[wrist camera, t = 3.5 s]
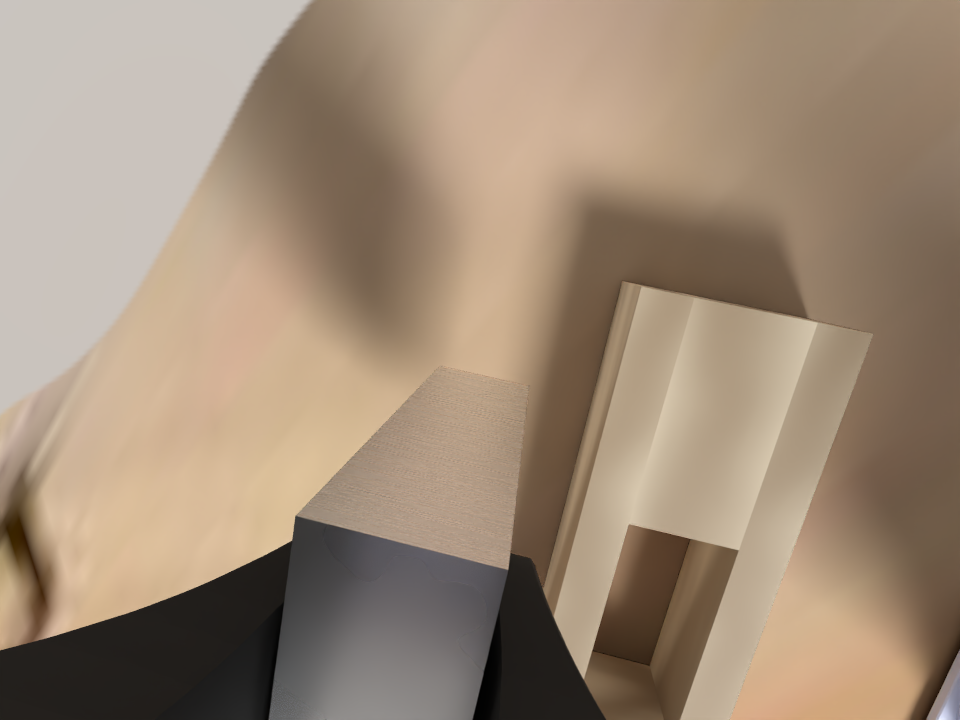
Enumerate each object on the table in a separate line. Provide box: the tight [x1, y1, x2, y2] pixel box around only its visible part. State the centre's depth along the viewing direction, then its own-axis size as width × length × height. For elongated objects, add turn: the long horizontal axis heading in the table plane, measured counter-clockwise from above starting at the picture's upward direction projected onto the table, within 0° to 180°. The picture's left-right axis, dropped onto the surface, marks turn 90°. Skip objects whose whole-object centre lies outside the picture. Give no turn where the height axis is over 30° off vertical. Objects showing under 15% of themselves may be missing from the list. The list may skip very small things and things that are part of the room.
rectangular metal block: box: [269, 366, 529, 720], centre depth 10 cm, size 2×6×8 cm, turn 169°
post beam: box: [543, 281, 874, 720], centre depth 18 cm, size 6×22×4 cm, turn 169°
